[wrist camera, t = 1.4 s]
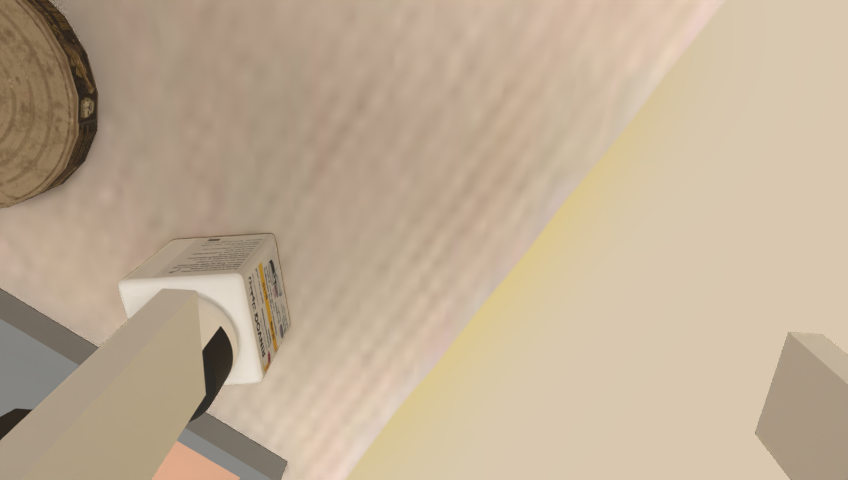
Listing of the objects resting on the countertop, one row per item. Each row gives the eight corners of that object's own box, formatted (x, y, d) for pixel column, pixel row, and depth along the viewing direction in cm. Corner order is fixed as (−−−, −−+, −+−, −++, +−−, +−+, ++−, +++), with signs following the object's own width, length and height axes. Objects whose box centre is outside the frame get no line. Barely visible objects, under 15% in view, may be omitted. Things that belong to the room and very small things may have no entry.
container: (292, 326, 44) (234, 441, 31) (194, 331, 44) (99, 447, 32) (275, 231, 41) (205, 318, 29) (171, 238, 41) (58, 325, 29)
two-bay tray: (-98, 400, 47) (-126, 419, 45) (-30, 270, 43) (-57, 284, 40) (199, 562, 53) (188, 587, 50) (287, 461, 48) (279, 483, 46)
